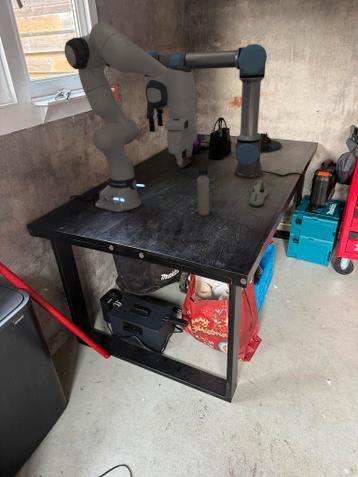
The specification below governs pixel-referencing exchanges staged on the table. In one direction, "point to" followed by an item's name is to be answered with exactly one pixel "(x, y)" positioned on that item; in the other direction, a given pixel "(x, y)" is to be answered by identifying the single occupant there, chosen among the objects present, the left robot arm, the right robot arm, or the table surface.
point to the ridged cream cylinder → (203, 195)
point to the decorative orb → (196, 144)
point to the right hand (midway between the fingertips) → (156, 128)
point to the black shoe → (268, 144)
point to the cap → (203, 171)
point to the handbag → (219, 141)
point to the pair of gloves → (206, 142)
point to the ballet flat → (258, 193)
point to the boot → (185, 159)
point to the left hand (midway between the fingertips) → (184, 160)
